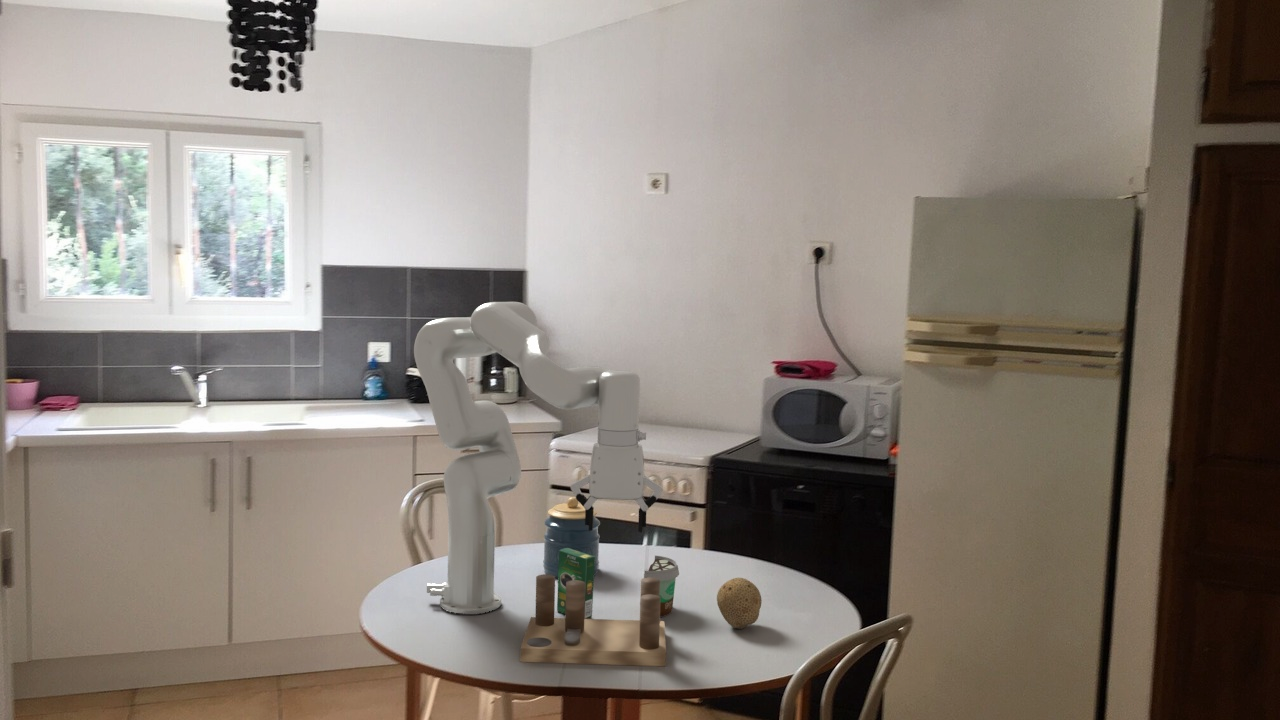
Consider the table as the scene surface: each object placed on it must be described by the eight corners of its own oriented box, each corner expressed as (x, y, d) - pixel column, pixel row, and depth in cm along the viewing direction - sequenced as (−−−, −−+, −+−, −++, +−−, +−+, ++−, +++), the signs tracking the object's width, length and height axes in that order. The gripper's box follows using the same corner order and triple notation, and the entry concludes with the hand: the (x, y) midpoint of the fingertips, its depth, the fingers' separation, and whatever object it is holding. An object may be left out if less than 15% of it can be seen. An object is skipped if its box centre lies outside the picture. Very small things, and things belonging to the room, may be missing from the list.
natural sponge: (724, 616, 205) (726, 569, 205) (766, 623, 202) (768, 575, 201) (710, 630, 197) (712, 581, 196) (753, 638, 194) (755, 588, 193)
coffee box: (594, 618, 202) (595, 554, 201) (584, 621, 200) (585, 557, 199) (566, 608, 207) (567, 546, 206) (556, 611, 205) (557, 549, 204)
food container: (672, 622, 201) (674, 574, 200) (642, 619, 202) (644, 571, 201) (682, 603, 213) (683, 557, 212) (653, 600, 214) (655, 554, 213)
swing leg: (581, 645, 180) (582, 596, 179) (561, 644, 180) (562, 595, 179) (584, 626, 189) (585, 580, 188) (565, 626, 189) (566, 579, 188)
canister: (575, 560, 242) (577, 488, 240) (610, 573, 232) (612, 498, 231) (531, 570, 233) (533, 495, 231) (566, 584, 223) (568, 506, 222)
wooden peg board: (520, 661, 179) (521, 599, 178) (530, 629, 195) (531, 572, 194) (665, 666, 179) (667, 603, 178) (664, 633, 195) (665, 576, 194)
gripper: (664, 436, 188) (661, 526, 190) (572, 433, 188) (570, 523, 190) (665, 442, 181) (662, 536, 182) (569, 440, 181) (567, 533, 182)
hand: (615, 529), depth 186 cm, fingers open, 8 cm apart
